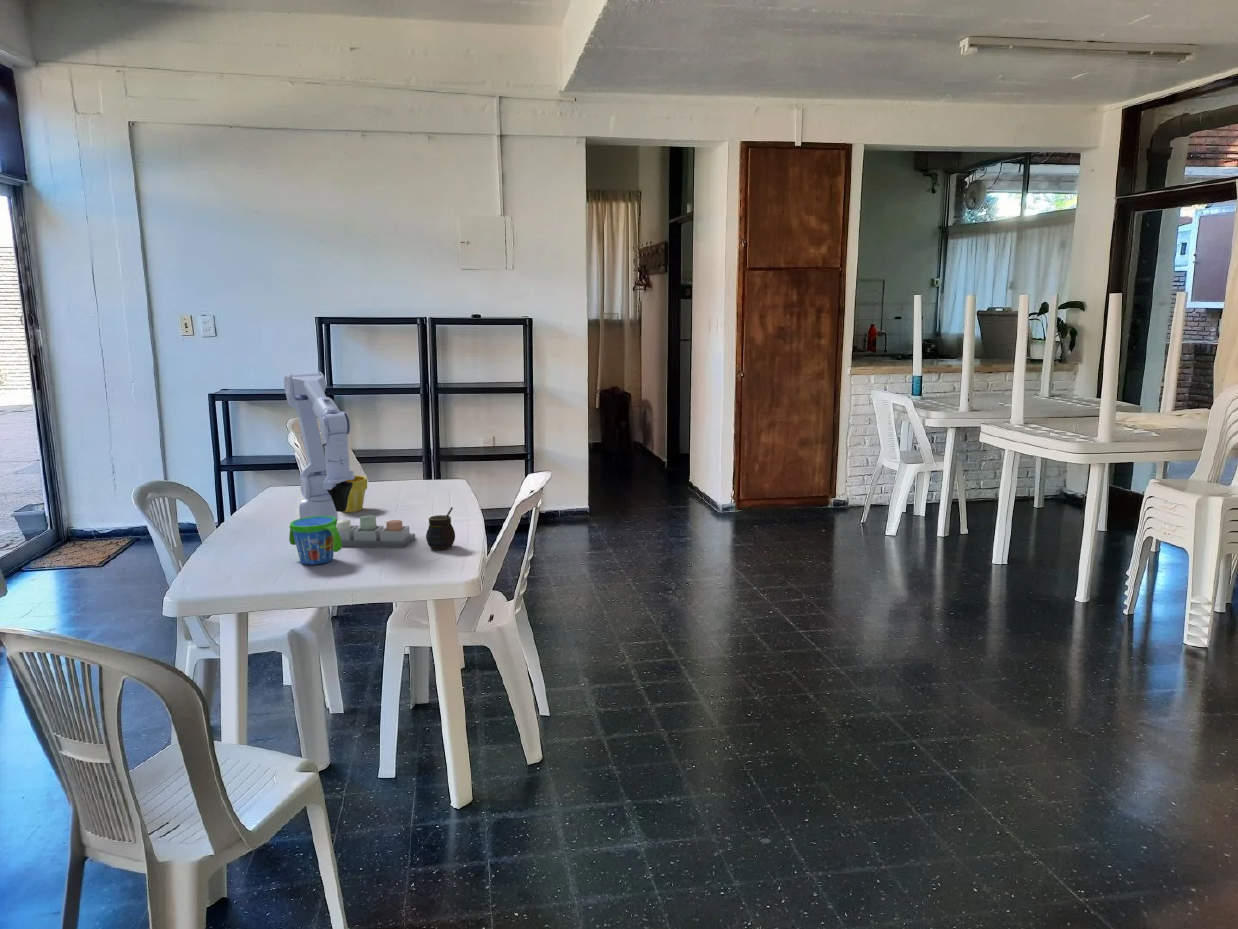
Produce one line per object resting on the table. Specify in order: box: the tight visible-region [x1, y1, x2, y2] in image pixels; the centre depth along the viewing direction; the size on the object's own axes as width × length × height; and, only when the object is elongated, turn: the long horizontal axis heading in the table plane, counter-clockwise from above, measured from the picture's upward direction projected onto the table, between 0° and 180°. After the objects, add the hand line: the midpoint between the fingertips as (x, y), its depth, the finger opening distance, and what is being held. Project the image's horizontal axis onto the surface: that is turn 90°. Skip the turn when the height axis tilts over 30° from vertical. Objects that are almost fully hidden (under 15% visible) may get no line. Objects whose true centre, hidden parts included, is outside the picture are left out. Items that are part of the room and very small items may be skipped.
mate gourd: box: [425, 506, 456, 551], centre depth 211 cm, size 7×8×10 cm
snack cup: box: [288, 516, 343, 566], centre depth 201 cm, size 16×10×10 cm
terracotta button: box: [385, 519, 403, 531], centre depth 217 cm, size 4×4×4 cm
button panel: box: [338, 525, 416, 549], centre depth 218 cm, size 22×9×4 cm, turn 85°
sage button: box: [359, 514, 377, 531], centre depth 217 cm, size 4×4×4 cm
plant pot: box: [343, 475, 368, 513], centre depth 253 cm, size 10×10×10 cm
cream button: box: [336, 519, 352, 531], centre depth 218 cm, size 4×4×4 cm
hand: (341, 511), depth 217 cm, fingers closed
